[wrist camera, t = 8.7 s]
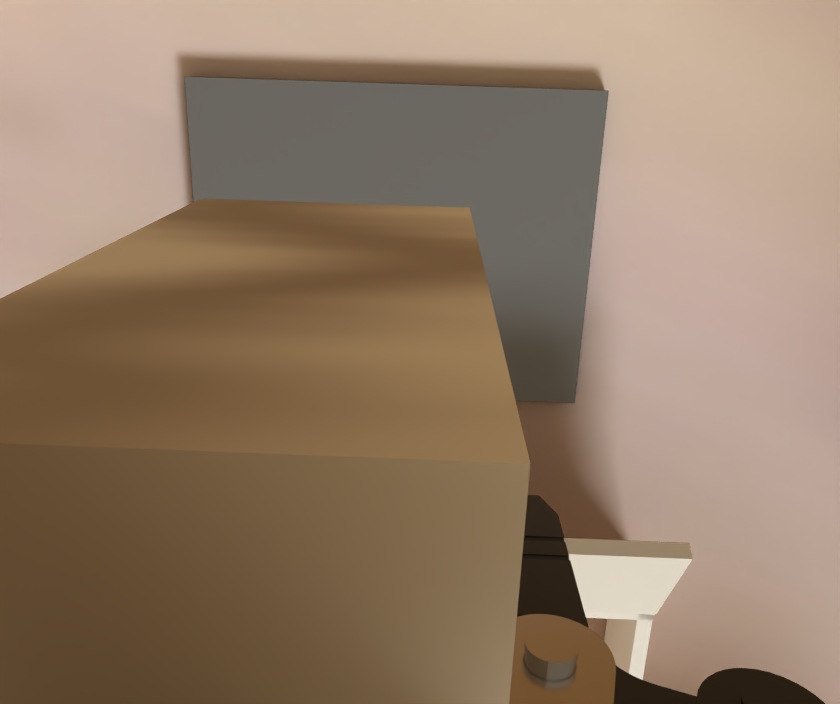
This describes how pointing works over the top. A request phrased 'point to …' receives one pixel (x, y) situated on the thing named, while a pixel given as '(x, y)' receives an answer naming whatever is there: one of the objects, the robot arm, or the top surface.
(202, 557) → the capped box
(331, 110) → the mat
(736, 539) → the top surface
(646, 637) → the carton
